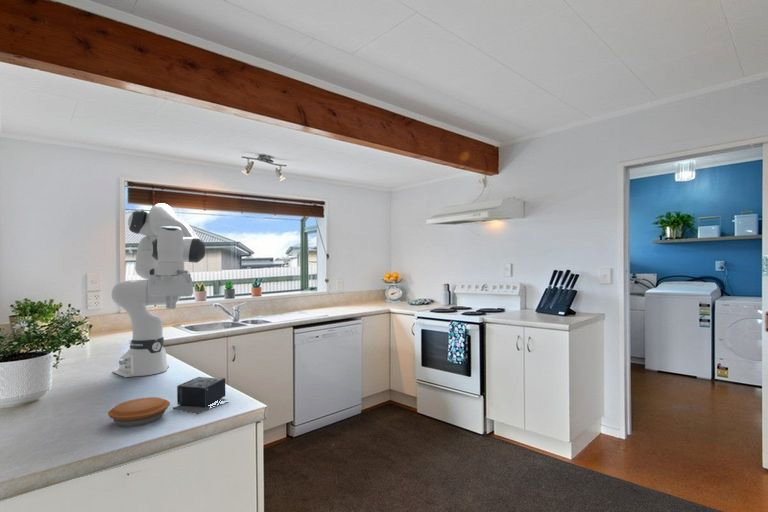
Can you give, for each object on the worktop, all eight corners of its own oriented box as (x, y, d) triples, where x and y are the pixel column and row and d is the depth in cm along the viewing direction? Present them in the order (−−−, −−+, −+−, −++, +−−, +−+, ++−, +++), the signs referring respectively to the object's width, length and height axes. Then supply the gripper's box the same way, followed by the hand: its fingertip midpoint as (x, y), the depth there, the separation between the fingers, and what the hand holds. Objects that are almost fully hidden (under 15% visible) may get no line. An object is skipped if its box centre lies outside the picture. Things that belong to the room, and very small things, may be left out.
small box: (176, 406, 129) (205, 408, 126) (176, 385, 129) (205, 387, 126) (199, 395, 139) (226, 396, 137) (198, 376, 139) (225, 377, 137)
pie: (100, 421, 118) (100, 403, 118) (158, 407, 129) (158, 391, 129) (116, 435, 107) (116, 416, 107) (178, 418, 119) (178, 401, 119)
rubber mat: (172, 408, 127) (172, 407, 127) (205, 397, 138) (205, 396, 138) (196, 414, 122) (196, 413, 122) (228, 402, 133) (228, 401, 133)
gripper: (197, 270, 147) (197, 308, 146) (161, 270, 156) (161, 306, 156) (181, 270, 141) (182, 310, 141) (145, 270, 150) (145, 308, 150)
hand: (170, 308), depth 148 cm, fingers closed
